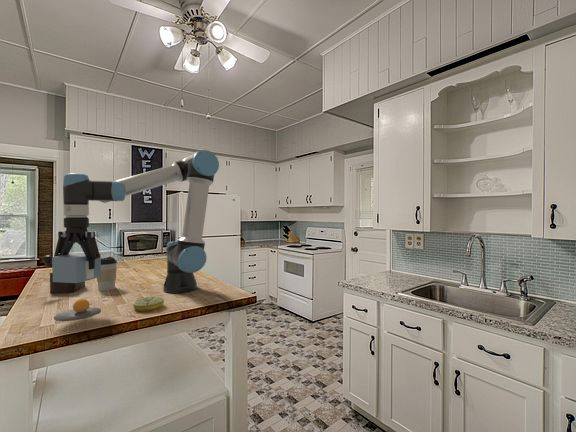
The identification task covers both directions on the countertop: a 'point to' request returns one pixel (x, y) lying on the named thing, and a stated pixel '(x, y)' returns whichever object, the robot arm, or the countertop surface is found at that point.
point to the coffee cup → (107, 274)
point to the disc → (76, 314)
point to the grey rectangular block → (73, 268)
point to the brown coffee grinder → (60, 286)
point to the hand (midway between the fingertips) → (77, 277)
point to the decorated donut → (148, 304)
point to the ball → (81, 305)
